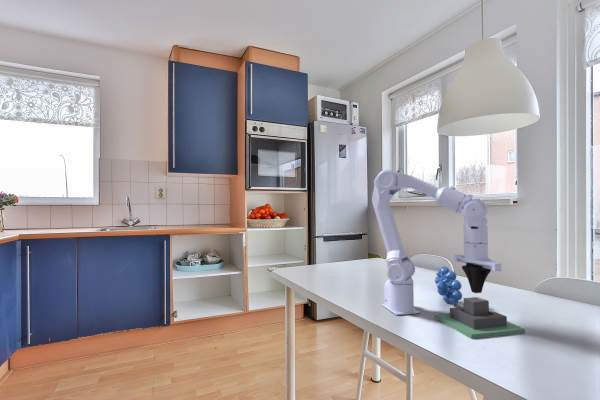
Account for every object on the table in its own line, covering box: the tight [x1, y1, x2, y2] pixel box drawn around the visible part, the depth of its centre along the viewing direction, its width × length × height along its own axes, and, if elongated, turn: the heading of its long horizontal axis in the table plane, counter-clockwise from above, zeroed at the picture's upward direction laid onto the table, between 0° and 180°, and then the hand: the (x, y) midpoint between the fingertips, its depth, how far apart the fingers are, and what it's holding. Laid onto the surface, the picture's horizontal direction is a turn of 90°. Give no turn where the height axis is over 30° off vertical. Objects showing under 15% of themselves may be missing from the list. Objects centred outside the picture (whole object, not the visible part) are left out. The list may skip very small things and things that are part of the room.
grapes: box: [434, 265, 463, 306], centre depth 101 cm, size 12×7×12 cm, turn 14°
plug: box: [463, 296, 490, 316], centre depth 82 cm, size 4×5×7 cm
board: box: [434, 306, 526, 339], centre depth 82 cm, size 14×16×4 cm
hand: (476, 292), depth 83 cm, fingers closed
